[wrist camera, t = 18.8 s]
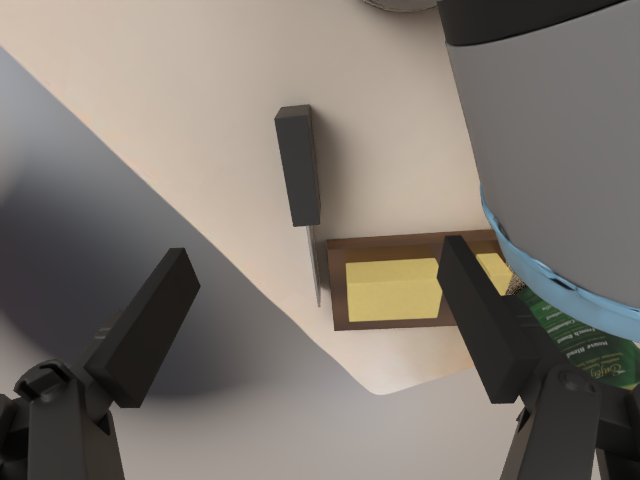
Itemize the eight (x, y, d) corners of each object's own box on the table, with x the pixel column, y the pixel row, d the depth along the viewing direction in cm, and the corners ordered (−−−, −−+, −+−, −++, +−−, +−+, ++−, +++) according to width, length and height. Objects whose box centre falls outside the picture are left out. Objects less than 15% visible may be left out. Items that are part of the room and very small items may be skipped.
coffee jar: (500, 292, 39) (613, 459, 24) (566, 263, 36) (743, 433, 21) (523, 330, 43) (631, 492, 28) (583, 307, 40) (740, 474, 25)
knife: (280, 107, 26) (273, 118, 23) (309, 104, 26) (307, 114, 23) (309, 287, 39) (308, 311, 35) (329, 285, 39) (330, 310, 35)
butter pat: (476, 253, 33) (490, 275, 30) (496, 252, 33) (513, 274, 30) (465, 292, 36) (477, 315, 33) (483, 291, 36) (497, 314, 33)
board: (326, 239, 34) (326, 249, 33) (504, 228, 33) (514, 238, 32) (334, 319, 42) (334, 331, 41) (477, 313, 41) (484, 324, 39)
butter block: (345, 262, 34) (347, 284, 31) (434, 257, 33) (445, 278, 30) (347, 299, 37) (349, 321, 34) (428, 295, 37) (437, 318, 34)
